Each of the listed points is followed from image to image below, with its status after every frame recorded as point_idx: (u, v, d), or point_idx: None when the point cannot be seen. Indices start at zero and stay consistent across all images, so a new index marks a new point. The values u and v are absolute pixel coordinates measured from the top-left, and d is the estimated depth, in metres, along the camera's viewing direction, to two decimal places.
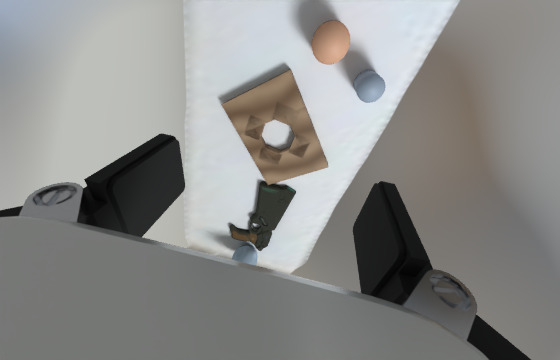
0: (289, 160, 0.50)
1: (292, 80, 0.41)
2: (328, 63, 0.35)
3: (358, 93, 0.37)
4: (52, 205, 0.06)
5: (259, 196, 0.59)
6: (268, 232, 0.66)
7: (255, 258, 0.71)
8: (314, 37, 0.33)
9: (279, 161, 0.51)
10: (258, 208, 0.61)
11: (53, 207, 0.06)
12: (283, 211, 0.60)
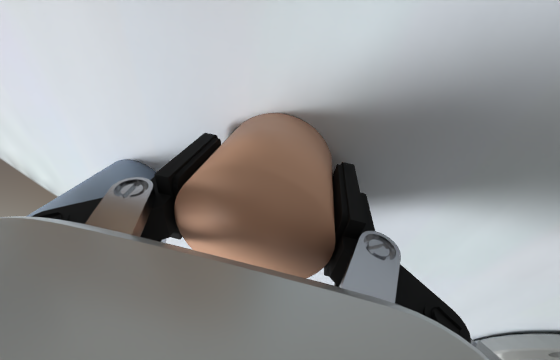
0: None
1: None
2: (181, 196, 0.07)
3: None
4: (126, 197, 0.07)
5: None
6: None
7: None
8: (314, 207, 0.06)
9: None
10: None
11: (126, 199, 0.06)
12: None
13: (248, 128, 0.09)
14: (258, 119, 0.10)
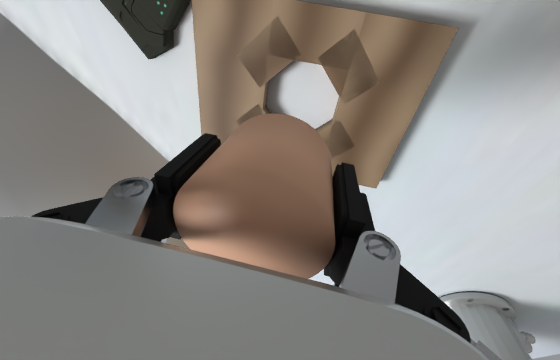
0: (240, 94, 0.23)
1: (362, 183, 0.26)
2: (180, 197, 0.07)
3: None
4: (126, 197, 0.07)
5: None
6: None
7: None
8: (314, 208, 0.06)
9: (246, 70, 0.21)
10: None
11: (126, 199, 0.06)
12: None
13: (247, 128, 0.09)
14: (258, 119, 0.10)
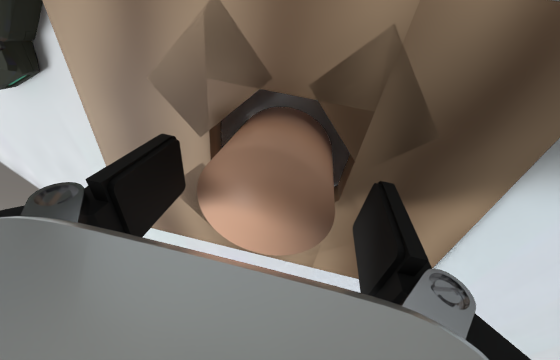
0: None
1: None
2: (204, 174, 0.08)
3: None
4: (53, 205, 0.06)
5: None
6: None
7: None
8: (317, 182, 0.08)
9: (171, 106, 0.11)
10: None
11: (54, 207, 0.06)
12: None
13: (259, 119, 0.10)
14: (267, 111, 0.11)
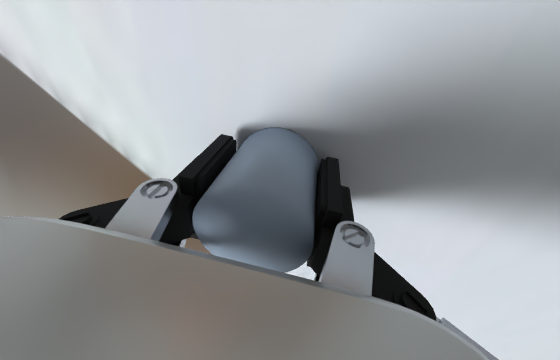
0: None
1: None
2: None
3: (259, 194, 0.06)
4: (151, 198, 0.07)
5: None
6: None
7: None
8: None
9: None
10: None
11: (150, 200, 0.07)
12: None
13: None
14: None
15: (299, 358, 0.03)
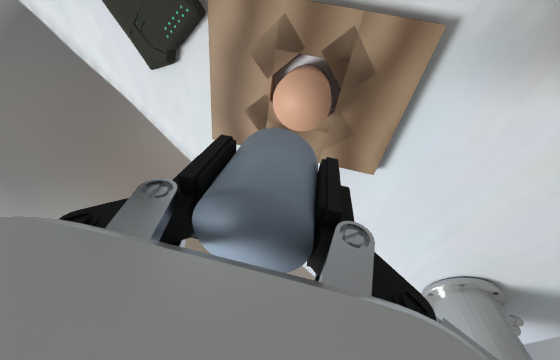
0: (249, 85, 0.25)
1: (360, 170, 0.28)
2: (278, 85, 0.21)
3: (258, 195, 0.06)
4: (151, 198, 0.07)
5: None
6: None
7: None
8: (324, 85, 0.20)
9: (255, 63, 0.23)
10: None
11: (150, 200, 0.07)
12: None
13: (297, 67, 0.22)
14: (300, 66, 0.23)
15: (299, 358, 0.03)
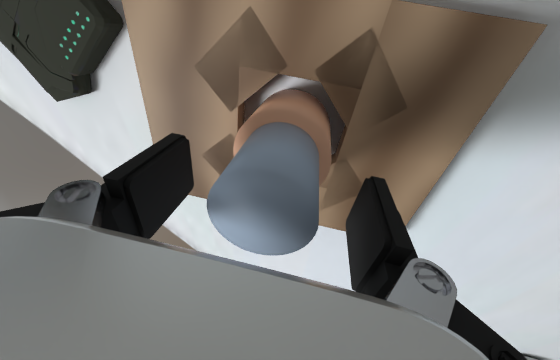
0: (204, 120, 0.16)
1: None
2: (240, 132, 0.12)
3: (269, 175, 0.07)
4: (72, 202, 0.06)
5: None
6: None
7: None
8: (319, 134, 0.11)
9: (210, 88, 0.14)
10: None
11: (72, 204, 0.06)
12: None
13: (276, 96, 0.14)
14: (281, 92, 0.15)
15: (299, 358, 0.03)
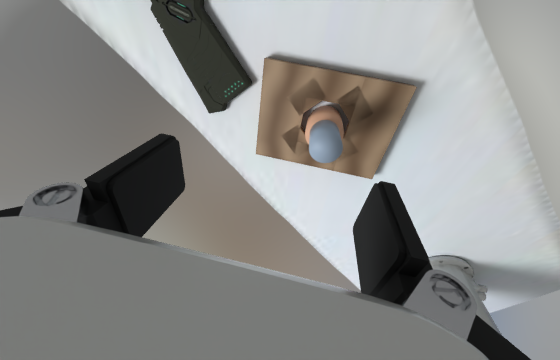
0: (286, 119, 0.36)
1: (362, 176, 0.39)
2: (309, 123, 0.32)
3: (328, 134, 0.27)
4: (52, 205, 0.06)
5: (232, 61, 0.33)
6: None
7: None
8: (339, 124, 0.31)
9: (292, 105, 0.34)
10: (211, 33, 0.31)
11: (53, 207, 0.06)
12: (186, 70, 0.35)
13: (320, 109, 0.34)
14: (321, 107, 0.35)
15: (299, 358, 0.03)
